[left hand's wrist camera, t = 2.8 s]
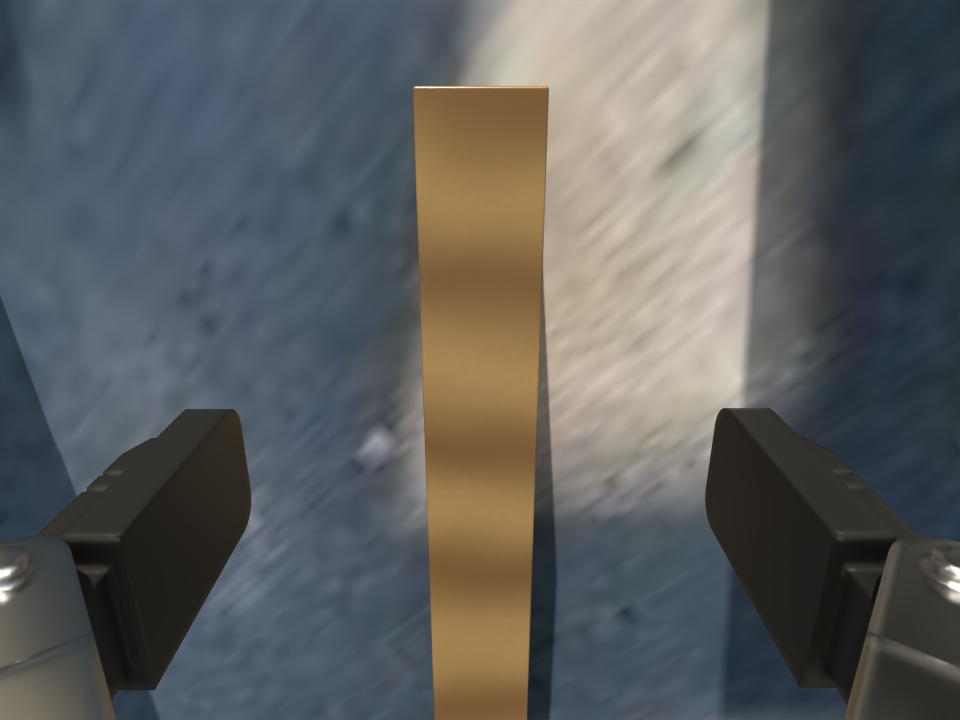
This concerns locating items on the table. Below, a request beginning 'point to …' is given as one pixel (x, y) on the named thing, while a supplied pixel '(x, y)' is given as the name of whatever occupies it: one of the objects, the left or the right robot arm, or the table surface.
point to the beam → (480, 382)
